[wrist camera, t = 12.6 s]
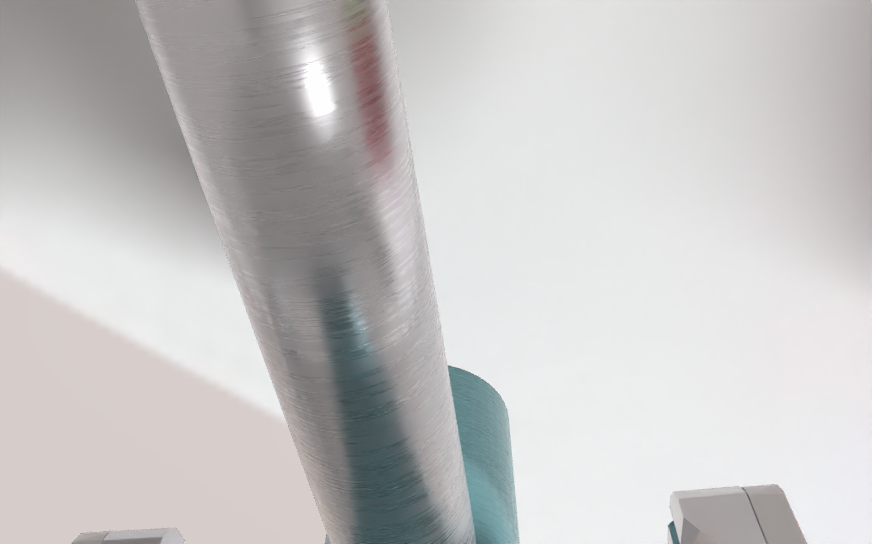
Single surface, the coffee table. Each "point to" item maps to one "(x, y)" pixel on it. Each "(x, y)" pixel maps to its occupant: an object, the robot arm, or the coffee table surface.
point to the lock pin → (336, 262)
